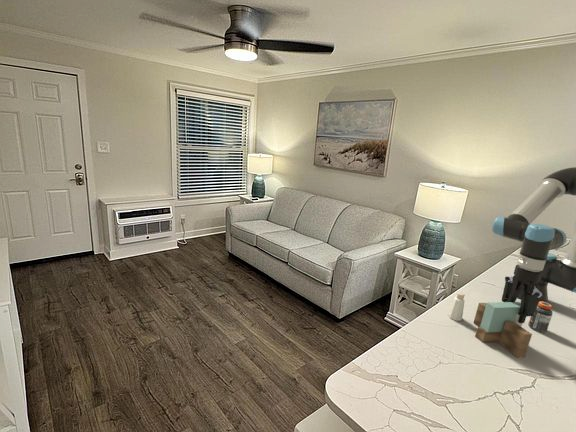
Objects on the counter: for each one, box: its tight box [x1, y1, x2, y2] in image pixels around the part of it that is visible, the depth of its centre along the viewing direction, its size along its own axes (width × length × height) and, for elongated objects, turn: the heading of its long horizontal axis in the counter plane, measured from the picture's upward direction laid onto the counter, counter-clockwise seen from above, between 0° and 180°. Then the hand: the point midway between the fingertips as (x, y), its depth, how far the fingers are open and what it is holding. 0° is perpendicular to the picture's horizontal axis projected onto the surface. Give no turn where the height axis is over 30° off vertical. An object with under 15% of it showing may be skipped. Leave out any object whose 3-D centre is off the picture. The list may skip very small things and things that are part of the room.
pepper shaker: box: [447, 291, 465, 322], centre depth 126 cm, size 5×5×11 cm
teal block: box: [480, 301, 523, 332], centre depth 113 cm, size 14×4×10 cm, turn 101°
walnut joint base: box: [473, 302, 533, 358], centre depth 114 cm, size 20×16×9 cm
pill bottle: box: [528, 301, 553, 334], centre depth 124 cm, size 6×6×11 cm
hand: (511, 325), depth 115 cm, fingers closed on teal block, 3 cm apart
